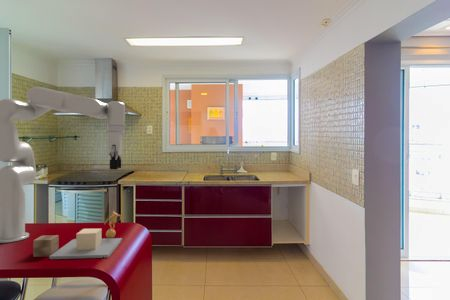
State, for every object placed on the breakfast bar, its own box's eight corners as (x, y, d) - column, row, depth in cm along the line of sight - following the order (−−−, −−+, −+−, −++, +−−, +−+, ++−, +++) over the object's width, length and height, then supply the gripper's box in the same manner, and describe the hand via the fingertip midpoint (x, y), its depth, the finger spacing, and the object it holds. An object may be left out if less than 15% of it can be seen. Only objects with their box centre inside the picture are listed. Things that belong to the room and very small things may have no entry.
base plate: (49, 259, 103) (49, 239, 103) (73, 241, 123) (73, 224, 123) (108, 257, 105) (108, 238, 105) (122, 240, 125) (122, 224, 125)
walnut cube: (33, 256, 105) (33, 240, 105) (42, 251, 111) (42, 235, 111) (50, 256, 106) (50, 239, 106) (58, 250, 112) (58, 235, 112)
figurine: (115, 235, 132) (116, 208, 132) (124, 237, 129) (124, 210, 129) (99, 239, 125) (99, 211, 125) (108, 242, 122) (108, 213, 122)
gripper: (110, 131, 137) (110, 167, 137) (102, 128, 120) (102, 170, 120) (127, 131, 138) (127, 167, 138) (122, 128, 122) (121, 169, 122)
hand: (115, 168), depth 129 cm, fingers open, 9 cm apart
